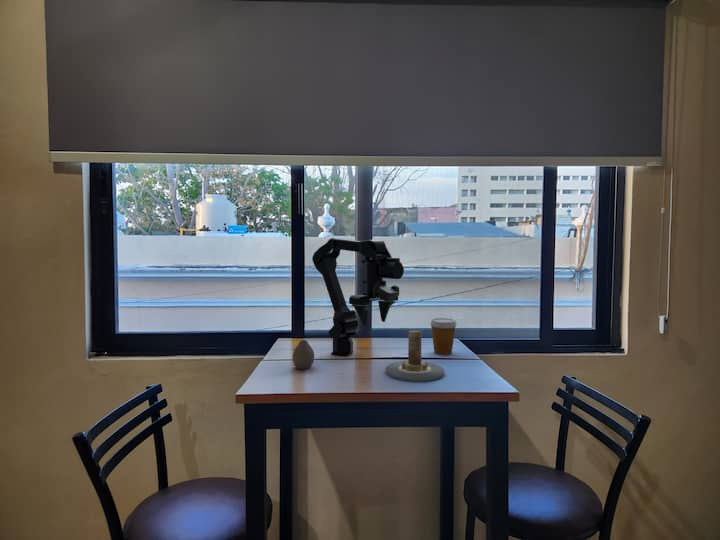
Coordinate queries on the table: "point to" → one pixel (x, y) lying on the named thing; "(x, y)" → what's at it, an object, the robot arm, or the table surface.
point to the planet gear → (414, 353)
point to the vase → (303, 355)
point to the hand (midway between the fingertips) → (374, 323)
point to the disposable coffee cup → (443, 335)
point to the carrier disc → (415, 373)
